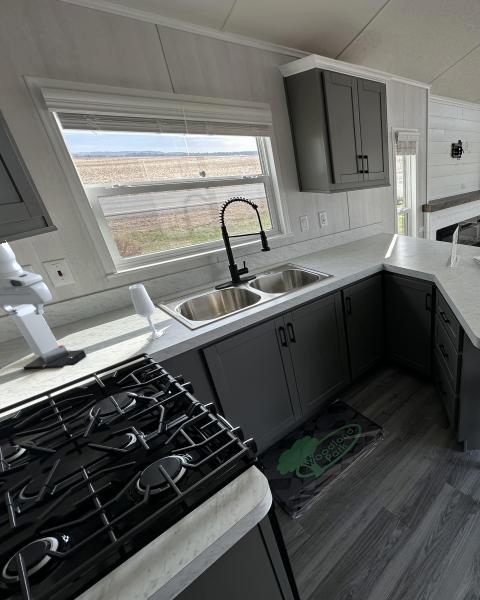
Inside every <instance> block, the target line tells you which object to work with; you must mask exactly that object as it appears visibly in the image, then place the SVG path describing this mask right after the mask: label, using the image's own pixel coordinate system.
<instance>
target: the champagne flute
mask: <svg viewBox="0 0 480 600" xmlns="http://www.w3.org/2000/svg"><path fill="white" fill-rule="evenodd" d="M128 290H129V293H130V297H131V301H132V304H133V307H134V311H135V313H136V315H138V316H140V317H142V318H146V319H147V322H148V324H149V327H150V329H151V331H152V333H150V334H149V335H148V336H147V337H148V339H154V340H156V339H155V338H158V337H160V336H161V335H162V334H163V332H164V331H156V327H155V325H154V322H153V320H152V318H151V317H152V315H153V314H154V312H155V310H156V307H155V305H154V303H153V301H152V300H151V297H150V296H149V294H148V292H147V290H146V288H145V285H143V284H142V283H138V284H134V285H130V286H129V287H128ZM160 338H161V337H160ZM148 339H147V340H148ZM158 339H159V338H158Z"/></svg>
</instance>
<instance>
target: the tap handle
mask: <svg viewBox="0 0 480 600" xmlns="http://www.w3.org/2000/svg"><path fill="white" fill-rule="evenodd" d="M66 354H68V349H67V347H66V346H65V345H63V344H62V345H59V346H58V347H57V348H55V349H53V350H51V351H49V352H46V353H44V354H42V355H40V356H41V358H42V360H43V361H44V363H49V362H51V361H54V360H56V359H58V358H60V357H62V356H64V355H66ZM40 356H39V357H40Z"/></svg>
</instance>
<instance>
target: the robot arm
mask: <svg viewBox="0 0 480 600" xmlns="http://www.w3.org/2000/svg"><path fill="white" fill-rule="evenodd" d="M16 257H17V256H16V254H15V253H14V251H13V250H12V248H11V246H10V244H9V243H8V241H6V243H2V244H0V308H1V309H2V310H3V311H5V312H7V315H8V316H11V315H15V314H18V312H17V310H16V309H13V307H12V306H14V305H17V306H19V305H22V304H32V305H33V306H34V307H36V310H34V312H35V314H36V315H40V314H42V315H43V314H45V311H44V304H46V303H49V302H51V301H52V299H53V296H52V293H51V291H50V289H49V288H48V286H47V285H46V284H45V282H43V276H42V275H41V274H38V273H34V272H30V271H27V270H23V268H22V266H21V265H20V264H19V263H18V262H17V258H16Z"/></svg>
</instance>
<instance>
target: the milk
mask: <svg viewBox="0 0 480 600" xmlns="http://www.w3.org/2000/svg"><path fill="white" fill-rule="evenodd" d="M12 308H13V309H16V310H17V312H18V314H15V315H10V317H11V319H12V320H13V322H14V323H15V325H16V327H17V328H18V330H19V331H20V333H21V335H22V337H23V338H24V340H25V342H26V343H27V344H28V346H29V348H30V350H31V351H32V353H33V354H34V356H36V357H37V356H38V357H40V355H42V354H44V353H46V352H49V351H51V350H53V349H55V348H57V347H58V346H60V344H59V342H58V341H57V339H56V338H55V335H54V333H53V331H52V330H51V328H50V327H49V325H48V323H47V321H46V320H45V318H44V316H43V314H40V315H36V314H35V312H34V310H36V307H35V306H34V305H33V304H18V305H17V306H14V307H12Z"/></svg>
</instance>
